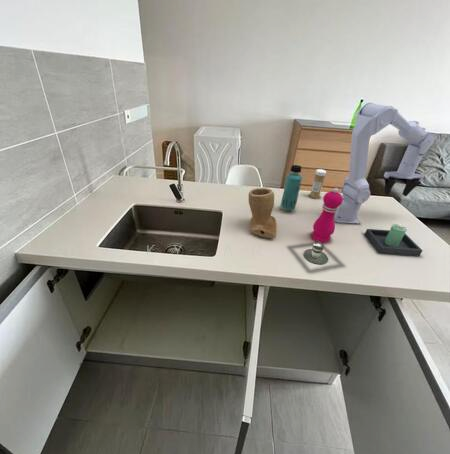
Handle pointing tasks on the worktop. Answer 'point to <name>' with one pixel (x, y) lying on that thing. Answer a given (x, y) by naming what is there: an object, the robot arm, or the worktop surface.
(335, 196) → the pepper mill
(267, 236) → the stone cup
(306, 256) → the pot lid
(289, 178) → the beverage bottle
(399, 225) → the mint green cylinder
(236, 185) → the worktop surface
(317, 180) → the sprinkles bottle
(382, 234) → the dark gray rectangular tray
